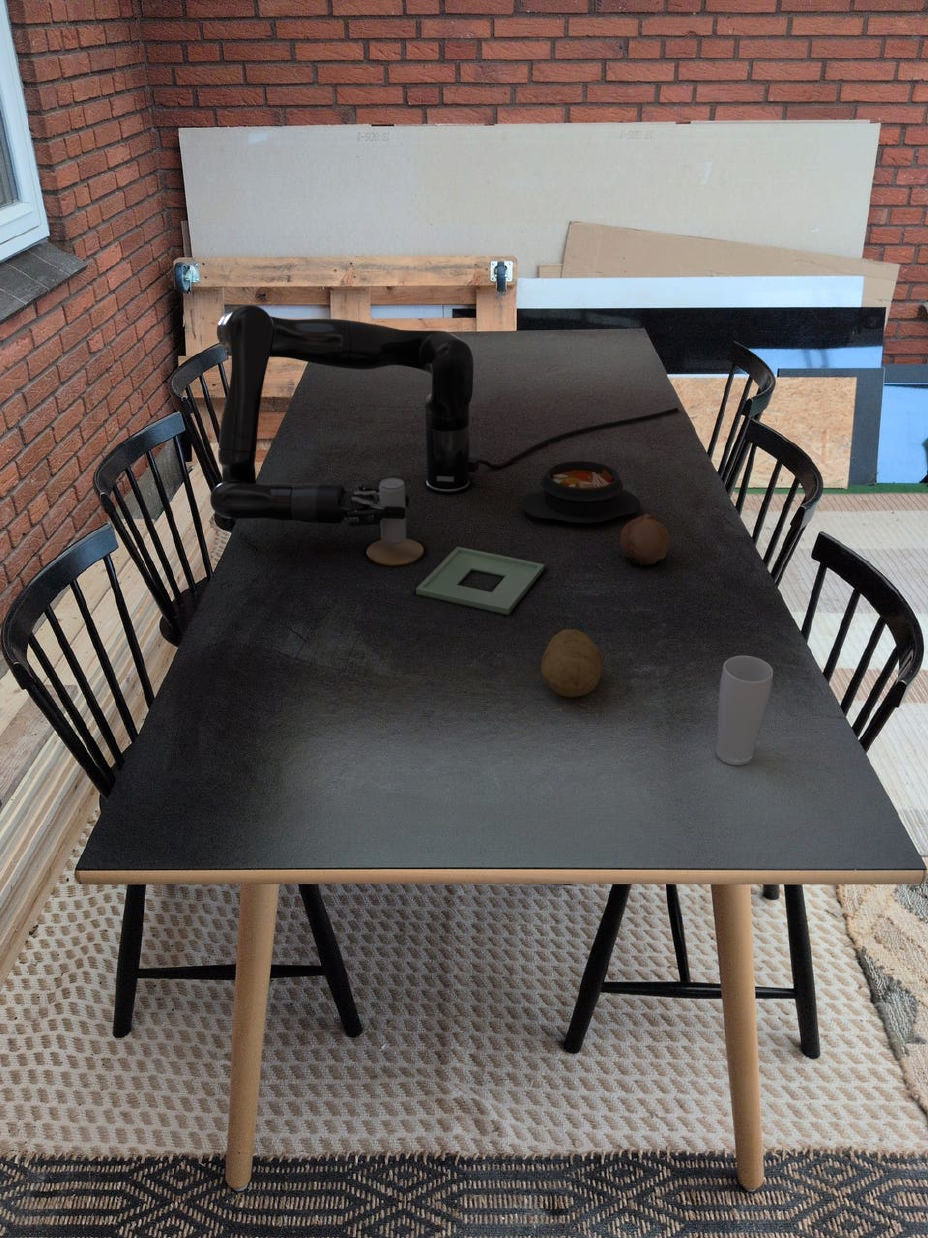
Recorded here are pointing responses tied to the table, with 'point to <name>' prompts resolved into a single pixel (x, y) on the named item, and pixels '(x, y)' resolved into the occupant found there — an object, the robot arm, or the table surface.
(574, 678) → the potato
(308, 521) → the robot arm
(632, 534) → the onion
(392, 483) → the beverage can
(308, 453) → the table surface
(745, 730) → the drinking glass
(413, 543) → the coaster
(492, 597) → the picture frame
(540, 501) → the casserole
